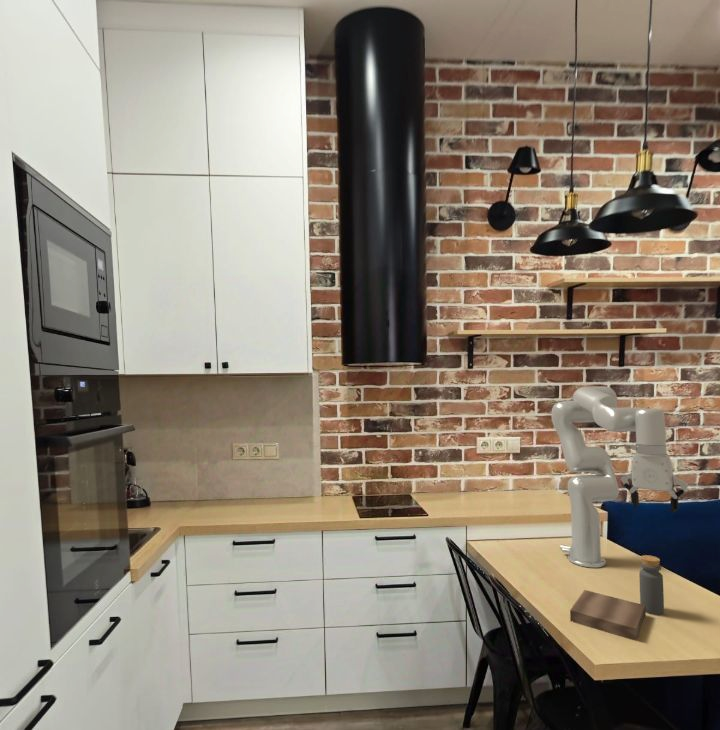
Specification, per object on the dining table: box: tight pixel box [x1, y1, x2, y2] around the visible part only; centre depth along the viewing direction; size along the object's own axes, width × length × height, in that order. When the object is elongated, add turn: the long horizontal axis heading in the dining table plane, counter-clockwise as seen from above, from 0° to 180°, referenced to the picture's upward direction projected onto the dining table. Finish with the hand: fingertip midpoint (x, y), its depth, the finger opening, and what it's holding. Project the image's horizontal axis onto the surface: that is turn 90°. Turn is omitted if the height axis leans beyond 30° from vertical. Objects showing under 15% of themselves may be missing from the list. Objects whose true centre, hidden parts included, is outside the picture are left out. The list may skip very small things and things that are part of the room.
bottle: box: [638, 554, 665, 616], centre depth 135 cm, size 6×6×15 cm
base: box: [569, 589, 647, 642], centre depth 131 cm, size 16×16×3 cm
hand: (654, 509), depth 137 cm, fingers open, 9 cm apart
